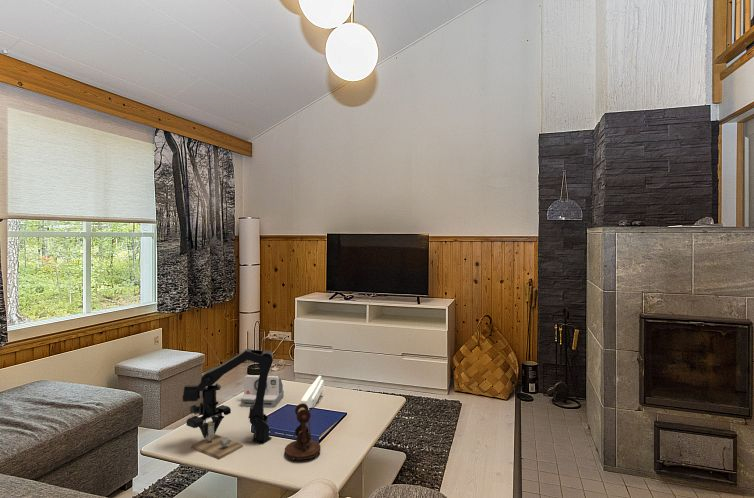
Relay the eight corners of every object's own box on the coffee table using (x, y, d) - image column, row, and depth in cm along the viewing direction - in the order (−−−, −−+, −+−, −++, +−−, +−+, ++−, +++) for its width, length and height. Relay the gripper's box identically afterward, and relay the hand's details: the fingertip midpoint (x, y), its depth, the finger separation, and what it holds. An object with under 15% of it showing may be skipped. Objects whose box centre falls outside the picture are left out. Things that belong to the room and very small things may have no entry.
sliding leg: (214, 440, 186) (214, 422, 186) (208, 443, 183) (208, 425, 183) (210, 439, 187) (210, 421, 187) (204, 442, 184) (204, 423, 184)
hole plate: (242, 447, 183) (242, 436, 183) (219, 459, 173) (219, 447, 173) (214, 437, 192) (214, 426, 192) (191, 448, 182) (191, 437, 182)
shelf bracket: (326, 396, 244) (324, 376, 242) (310, 422, 220) (309, 400, 218) (317, 395, 245) (315, 375, 243) (300, 421, 222) (298, 399, 219)
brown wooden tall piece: (323, 460, 172) (323, 411, 172) (286, 465, 168) (286, 415, 168) (317, 443, 186) (317, 398, 186) (283, 448, 182) (283, 401, 182)
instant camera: (235, 406, 228) (235, 379, 228) (255, 393, 248) (255, 367, 248) (271, 410, 223) (271, 382, 223) (289, 396, 243) (289, 370, 243)
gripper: (215, 390, 197) (215, 423, 197) (178, 403, 181) (178, 439, 181) (231, 394, 191) (231, 429, 191) (194, 408, 175) (195, 446, 175)
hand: (209, 435), depth 185 cm, fingers open, 4 cm apart
